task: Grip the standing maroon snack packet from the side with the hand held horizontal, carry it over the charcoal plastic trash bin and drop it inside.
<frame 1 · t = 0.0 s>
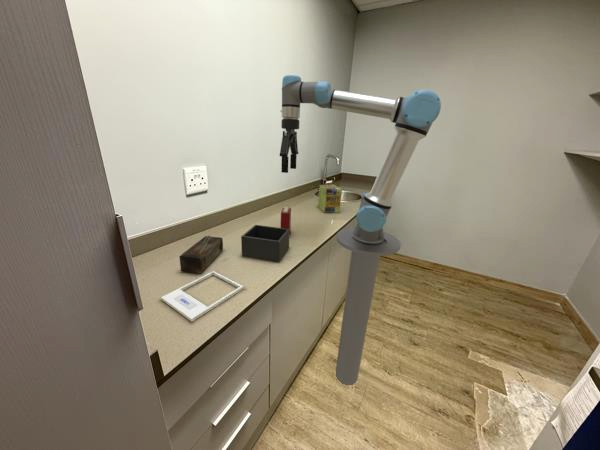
hand: (289, 170, 108), 31 cm above the worktop, tool pointing down, fingers open, 13 cm apart
bin: (266, 251, 101), on the worktop
photo frame: (204, 294, 73), on the worktop
protein box: (328, 209, 162), on the worktop
dark brown wooden block: (204, 260, 92), on the worktop
packet: (285, 234, 120), on the worktop
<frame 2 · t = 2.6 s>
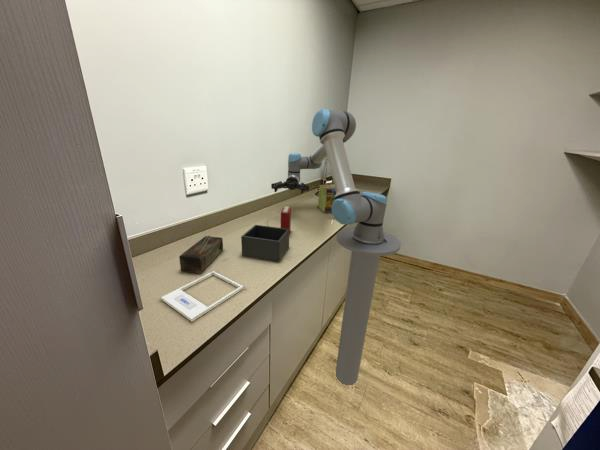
hand: (288, 190, 122), 20 cm above the worktop, tool horizontal, fingers open, 13 cm apart
nothing on the worktop moved.
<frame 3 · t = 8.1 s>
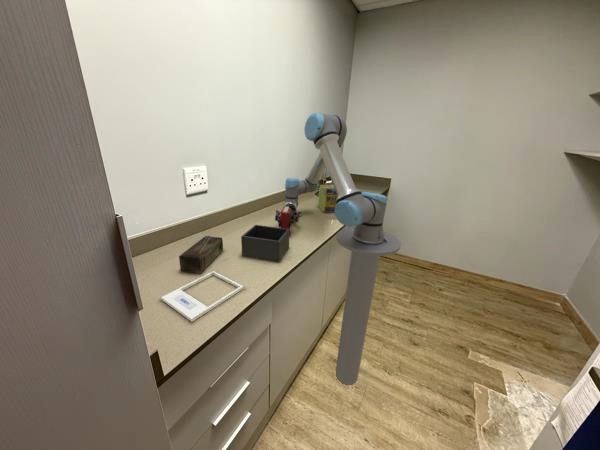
hand: (284, 224, 112), 7 cm above the worktop, tool horizontal, fingers closed on packet, 4 cm apart
packet: (285, 234, 120), on the worktop, touching gripper
everything else where it was.
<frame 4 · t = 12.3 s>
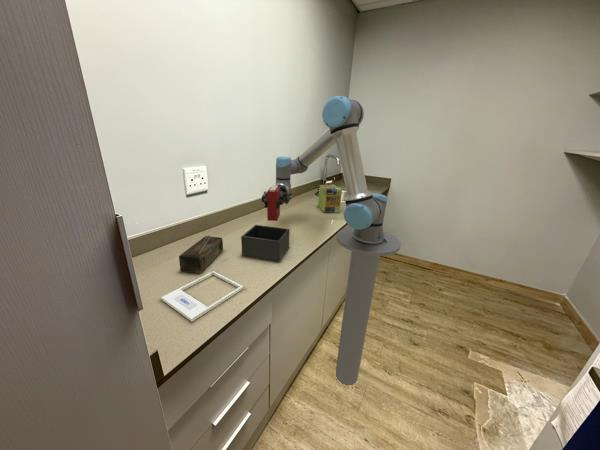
hand: (271, 204, 96), 20 cm above the worktop, tool horizontal, fingers closed on packet, 4 cm apart
packet: (273, 217, 103), point 13 cm above the worktop, touching gripper
everything else where it was.
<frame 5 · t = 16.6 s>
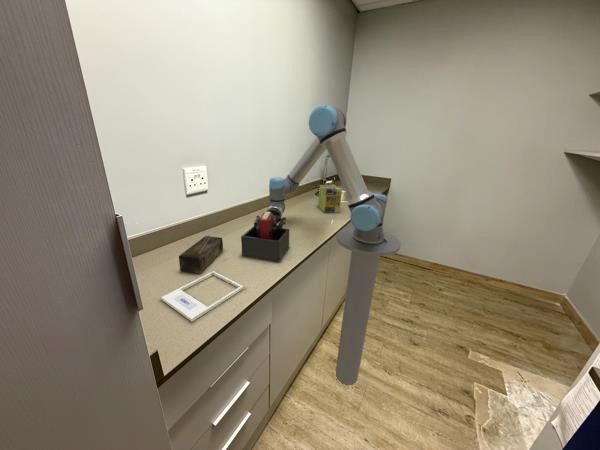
hand: (263, 233, 92), 11 cm above the worktop, tool horizontal, fingers closed on packet, 4 cm apart
packet: (266, 244, 100), point 3 cm above the worktop, touching gripper
everything else where it was.
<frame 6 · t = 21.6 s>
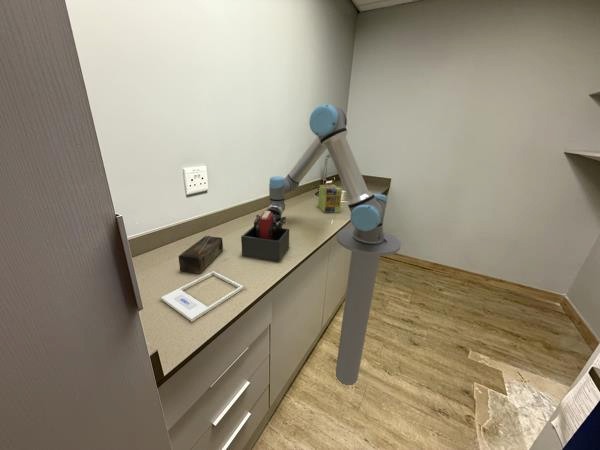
hand: (263, 232, 92), 11 cm above the worktop, tool horizontal, fingers closed on packet, 4 cm apart
packet: (266, 243, 100), point 4 cm above the worktop, touching gripper
everything else where it was.
when the fingers open (14 cm above the worktop, at t = 25.9 s): packet drops 6 cm, resting on bin.
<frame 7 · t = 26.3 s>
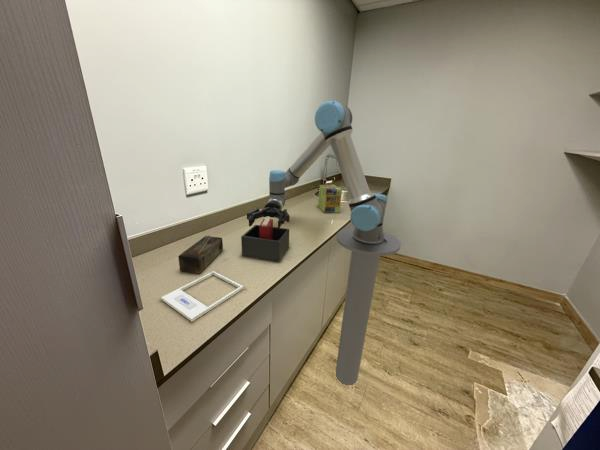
hand: (264, 224, 92), 14 cm above the worktop, tool horizontal, fingers open, 10 cm apart
packet: (266, 250, 101), point 1 cm above the worktop, touching bin
everything else where it was.
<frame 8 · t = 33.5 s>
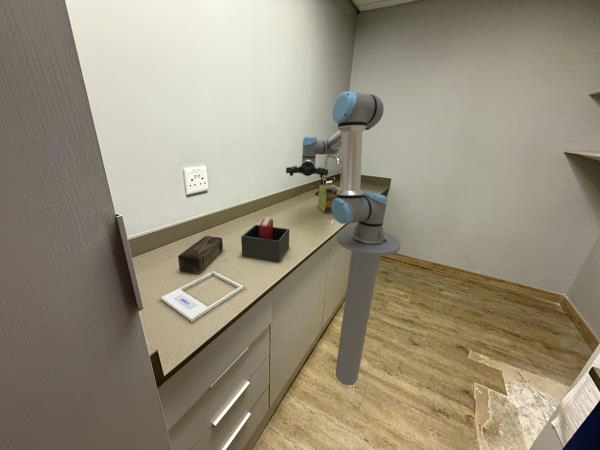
hand: (306, 173, 109), 30 cm above the worktop, tool horizontal, fingers open, 13 cm apart
nothing on the worktop moved.
at the end: packet inside the target area in the bin (0.1 cm from its centre), point 0.8 cm above the bin's base; the gripper is holding nothing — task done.
